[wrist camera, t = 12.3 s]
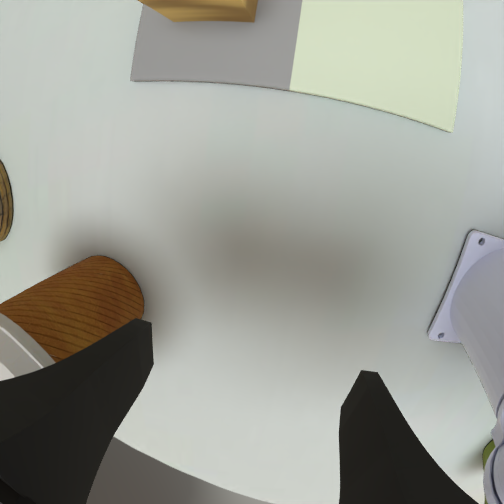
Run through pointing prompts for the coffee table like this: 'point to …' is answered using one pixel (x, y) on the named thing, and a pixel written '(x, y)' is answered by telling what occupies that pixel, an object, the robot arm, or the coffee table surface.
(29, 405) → the robot arm
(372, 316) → the coffee table surface
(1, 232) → the wooden mug
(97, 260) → the disposable coffee cup
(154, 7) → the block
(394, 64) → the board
